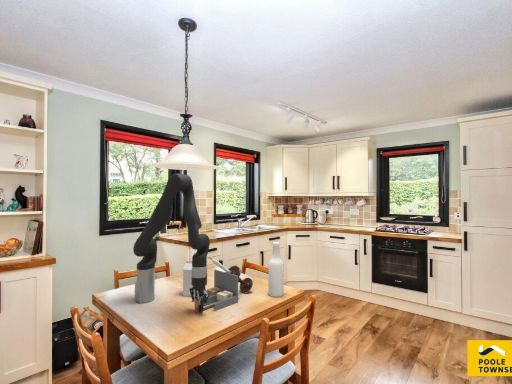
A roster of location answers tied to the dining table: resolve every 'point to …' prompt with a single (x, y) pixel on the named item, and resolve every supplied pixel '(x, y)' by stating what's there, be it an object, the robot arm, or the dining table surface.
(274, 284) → the alcohol
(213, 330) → the dining table surface
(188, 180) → the robot arm
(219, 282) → the lane rack
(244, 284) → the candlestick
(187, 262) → the milk carton
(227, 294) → the corded block
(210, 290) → the walnut block
